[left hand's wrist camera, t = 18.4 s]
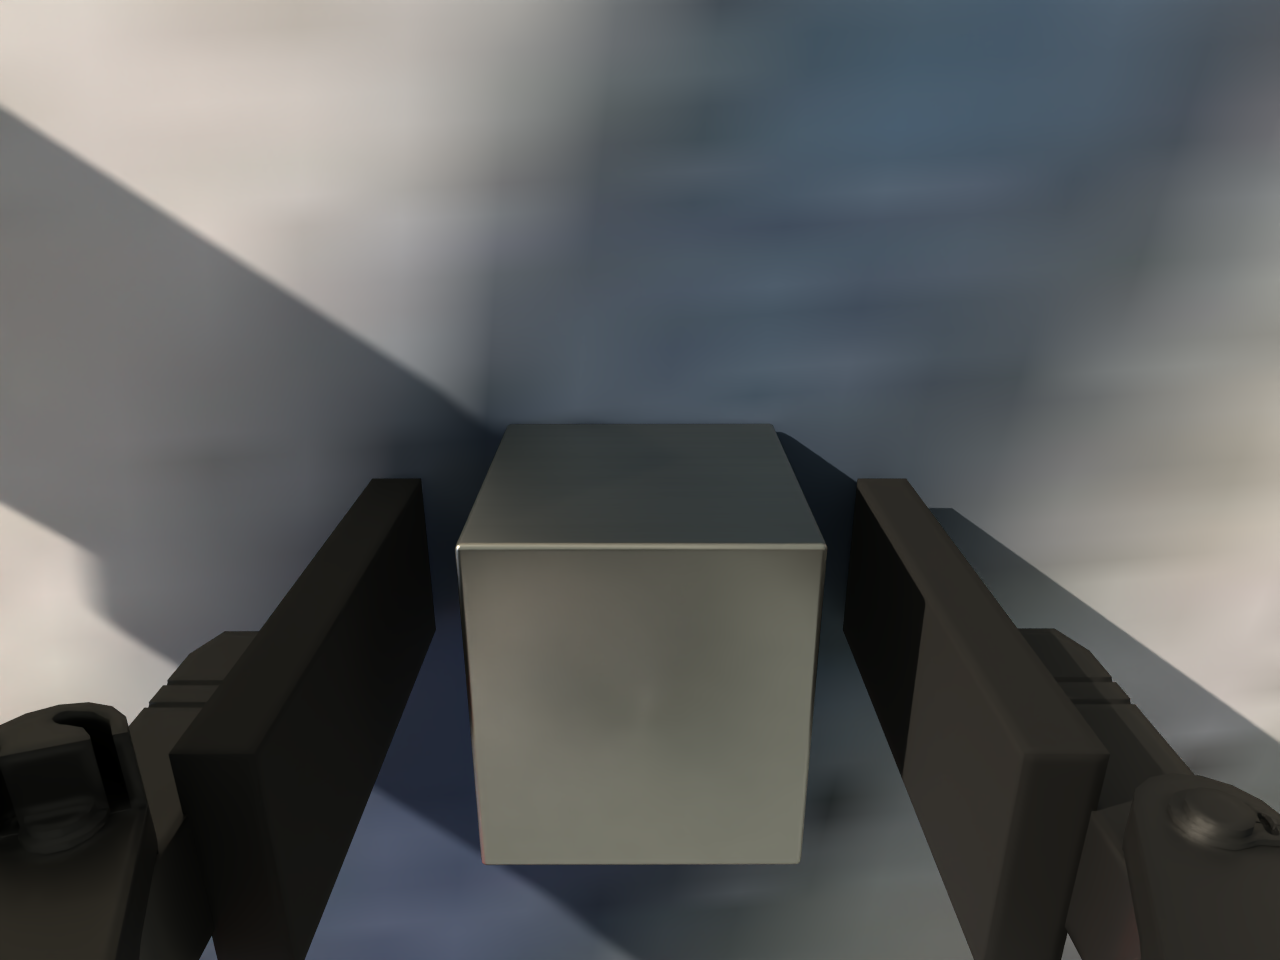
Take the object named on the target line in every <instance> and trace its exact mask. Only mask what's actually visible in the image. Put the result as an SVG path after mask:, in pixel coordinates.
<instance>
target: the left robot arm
mask: <svg viewBox="0 0 1280 960" xmlns="http://www.w3.org/2000/svg"><path fill="white" fill-rule="evenodd" d="M435 630H436V627H435V617H434V607H433V597H432V586H431V576H430V566H429V556H428V546H427V535H426V525H425V515H424V505H423V494H422V484H421V479H372V480H371V481H370V483H369V484H368V485H367V487H366V488H365V489H364V491H363V492H362V493H361V495H360V496H359V498H358V499H357V500H356V502H355V503H354V504H353V506H352V507H351V508H350V510H349V511H348V512H347V514H346V515H345V516H344V518H343V519H342V520H341V522H340V523H339V524H338V526H337V527H336V529H335V530H334V531H333V533H332V534H331V535H330V537H329V538H328V539H327V541H326V542H325V543H324V545H323V546H322V547H321V549H320V550H319V551H318V553H317V554H316V555H315V557H314V558H313V560H312V561H311V562H310V564H309V565H308V566H307V568H306V569H305V570H304V572H303V573H302V574H301V576H300V577H299V578H298V580H297V581H296V582H295V584H294V585H293V586H292V588H291V589H290V591H289V592H288V593H287V595H286V596H285V597H284V599H283V600H282V601H281V603H280V604H279V605H278V607H277V608H276V609H275V611H274V612H273V613H272V615H271V616H270V617H269V619H268V620H267V622H266V623H265V624H264V626H263V627H262V628H261V630H260V631H225V632H223V633H222V634H220V635H218V636H217V637H215V638H214V639H212V640H211V641H209V642H208V643H206V644H204V645H203V646H201V647H200V648H198V649H197V650H195V651H193V652H192V653H190V654H189V655H188V656H187V658H186V659H185V660H184V661H183V662H182V664H181V665H180V666H179V667H178V668H177V670H176V671H175V672H174V673H173V674H172V675H171V677H170V678H169V679H168V683H167V685H163V686H162V687H161V689H160V690H159V691H158V692H157V693H156V695H155V696H154V697H153V698H152V699H151V700H150V702H149V707H148V708H144V709H143V710H142V711H141V712H140V714H139V715H138V716H137V717H136V718H135V719H134V721H133V722H132V723H131V724H130V725H129V727H128V723H127V719H126V716H125V715H123V714H122V713H121V712H119V711H118V710H116V709H115V708H114V707H112V706H108V705H102V704H96V703H90V702H86V703H74V704H62V705H56V706H53V707H49V708H45V709H41V710H38V711H34V712H30V713H26V714H24V715H22V716H20V717H17V718H15V719H13V720H11V721H8V722H6V723H4V724H2V725H0V960H199V959H200V957H201V955H202V953H203V951H204V949H205V947H206V945H207V943H208V942H209V940H210V938H211V936H212V938H213V942H214V946H215V950H216V955H217V959H218V960H305V957H306V955H307V952H308V950H309V947H310V945H311V942H312V939H313V937H314V934H315V932H316V929H317V927H318V924H319V922H320V919H321V917H322V914H323V912H324V909H325V907H326V904H327V902H328V899H329V897H330V894H331V892H332V889H333V887H334V884H335V882H336V879H337V877H338V874H339V872H340V869H341V867H342V864H343V862H344V859H345V857H346V854H347V852H348V849H349V846H350V844H351V841H352V839H353V836H354V834H355V831H356V829H357V826H358V824H359V821H360V819H361V816H362V814H363V811H364V809H365V806H366V804H367V801H368V799H369V796H370V794H371V791H372V789H373V786H374V784H375V781H376V779H377V776H378V774H379V771H380V769H381V766H382V764H383V761H384V758H385V756H386V753H387V751H388V748H389V746H390V743H391V741H392V738H393V736H394V733H395V731H396V728H397V726H398V723H399V721H400V718H401V716H402V713H403V711H404V708H405V706H406V703H407V701H408V698H409V696H410V693H411V691H412V688H413V686H414V683H415V681H416V678H417V676H418V673H419V670H420V668H421V665H422V663H423V660H424V658H425V655H426V653H427V650H428V648H429V645H430V643H431V640H432V638H433V635H434V633H435ZM843 631H844V634H845V636H846V639H847V641H848V644H849V646H850V649H851V651H852V654H853V656H854V659H855V661H856V664H857V666H858V669H859V671H860V674H861V676H862V679H863V681H864V684H865V686H866V689H867V691H868V694H869V696H870V699H871V701H872V704H873V706H874V709H875V711H876V714H877V716H878V719H879V722H880V724H881V727H882V729H883V732H884V734H885V737H886V739H887V742H888V744H889V747H890V749H891V752H892V754H893V757H894V759H895V762H896V764H897V767H898V769H899V772H900V774H901V777H902V779H903V782H904V784H905V787H906V789H907V792H908V794H909V797H910V799H911V802H912V804H913V807H914V809H915V812H916V815H917V817H918V820H919V822H920V825H921V827H922V830H923V832H924V835H925V837H926V840H927V842H928V845H929V847H930V850H931V852H932V855H933V857H934V860H935V862H936V865H937V867H938V870H939V872H940V875H941V877H942V880H943V882H944V885H945V887H946V890H947V892H948V895H949V897H950V900H951V902H952V905H953V908H954V910H955V913H956V915H957V918H958V920H959V923H960V925H961V928H962V930H963V933H964V935H965V938H966V940H967V943H968V945H969V948H970V950H971V953H972V955H973V958H974V960H1061V957H1062V953H1063V949H1064V945H1065V941H1066V937H1067V932H1068V934H1069V936H1070V938H1071V939H1072V941H1073V943H1074V945H1075V947H1076V949H1077V951H1078V953H1079V955H1080V957H1081V958H1082V960H1280V814H1278V813H1277V812H1276V811H1275V810H1273V809H1272V808H1271V807H1270V806H1268V805H1267V804H1266V803H1265V802H1263V801H1262V800H1260V799H1258V798H1256V797H1254V796H1252V795H1250V794H1248V793H1246V792H1244V791H1242V790H1240V789H1238V788H1236V787H1234V786H1232V785H1229V784H1226V783H1223V782H1219V781H1216V780H1213V779H1210V778H1206V777H1203V776H1198V775H1194V774H1193V773H1192V771H1191V770H1190V769H1189V768H1188V767H1187V765H1186V764H1185V763H1184V762H1183V761H1182V760H1181V758H1180V757H1179V756H1178V755H1177V754H1176V752H1175V751H1174V750H1173V749H1172V748H1171V747H1170V745H1169V744H1168V743H1167V742H1166V741H1165V739H1164V738H1163V737H1162V736H1161V735H1160V734H1159V732H1158V731H1157V730H1156V729H1155V728H1154V726H1153V725H1152V724H1151V723H1150V722H1149V721H1148V719H1147V718H1146V717H1145V716H1144V715H1143V713H1142V712H1141V711H1140V710H1139V709H1138V708H1137V706H1136V705H1135V704H1130V698H1129V697H1128V696H1127V695H1126V693H1125V692H1124V691H1123V690H1122V689H1121V687H1120V686H1119V685H1118V684H1117V683H1116V682H1112V677H1111V676H1110V674H1109V673H1108V672H1107V671H1106V670H1105V669H1104V667H1103V666H1102V665H1101V664H1100V663H1099V661H1098V660H1097V659H1096V658H1095V657H1094V656H1093V654H1092V653H1091V652H1090V651H1089V650H1087V649H1086V648H1084V647H1083V646H1081V645H1079V644H1078V643H1076V642H1075V641H1073V640H1072V639H1070V638H1068V637H1067V636H1065V635H1064V634H1062V633H1061V632H1059V631H1057V630H1056V629H1017V627H1016V626H1015V625H1014V623H1013V622H1012V621H1011V619H1010V618H1009V617H1008V615H1007V614H1006V613H1005V611H1004V610H1003V609H1002V607H1001V606H1000V605H999V603H998V602H997V601H996V599H995V598H994V596H993V595H992V594H991V592H990V591H989V590H988V588H987V587H986V586H985V584H984V583H983V582H982V580H981V579H980V578H979V576H978V575H977V574H976V572H975V571H974V570H973V568H972V567H971V565H970V564H969V563H968V561H967V560H966V559H965V557H964V556H963V555H962V553H961V552H960V551H959V549H958V548H957V547H956V545H955V544H954V543H953V541H952V540H951V539H950V537H949V536H948V534H947V533H946V532H945V530H944V529H943V528H942V526H941V525H940V524H939V522H938V521H937V520H936V518H935V517H934V516H933V514H932V513H931V512H930V510H929V509H928V507H927V506H926V505H925V503H924V502H923V501H922V499H921V498H920V497H919V495H918V494H917V493H916V491H915V490H914V489H913V487H912V486H911V485H910V483H909V482H908V481H907V479H858V480H857V491H856V501H855V511H854V521H853V532H852V542H851V552H850V563H849V573H848V583H847V593H846V604H845V614H844V624H843Z"/></svg>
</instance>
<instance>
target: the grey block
mask: <svg viewBox="0 0 1280 960" xmlns="http://www.w3.org/2000/svg"><path fill="white" fill-rule="evenodd" d="M455 554H456V566H457V578H458V590H459V602H460V613H461V625H462V637H463V649H464V660H465V672H466V684H467V696H468V708H469V719H470V731H471V743H472V755H473V767H474V778H475V790H476V802H477V814H478V825H479V837H480V849H481V859H482V862H483V864H485V865H685V864H798V863H799V862H800V860H801V853H802V841H803V829H804V817H805V805H806V794H807V782H808V770H809V758H810V746H811V735H812V723H813V711H814V699H815V687H816V676H817V664H818V652H819V640H820V628H821V616H822V605H823V593H824V581H825V569H826V557H827V546H826V543H825V541H824V539H823V536H822V534H821V532H820V530H819V527H818V525H817V523H816V521H815V518H814V516H813V514H812V512H811V510H810V507H809V505H808V503H807V501H806V498H805V496H804V494H803V492H802V489H801V487H800V485H799V483H798V481H797V478H796V476H795V474H794V472H793V469H792V467H791V465H790V463H789V460H788V458H787V456H786V454H785V452H784V449H783V447H782V445H781V443H780V440H779V438H778V436H777V434H776V432H775V429H774V427H773V425H771V424H510V425H508V426H507V428H506V431H505V433H504V435H503V438H502V440H501V442H500V445H499V447H498V449H497V452H496V454H495V456H494V459H493V461H492V463H491V465H490V468H489V470H488V472H487V475H486V477H485V479H484V482H483V484H482V486H481V489H480V491H479V493H478V496H477V498H476V500H475V503H474V505H473V507H472V509H471V512H470V514H469V516H468V519H467V521H466V523H465V526H464V528H463V530H462V533H461V535H460V537H459V540H458V542H457V544H456V547H455Z"/></svg>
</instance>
